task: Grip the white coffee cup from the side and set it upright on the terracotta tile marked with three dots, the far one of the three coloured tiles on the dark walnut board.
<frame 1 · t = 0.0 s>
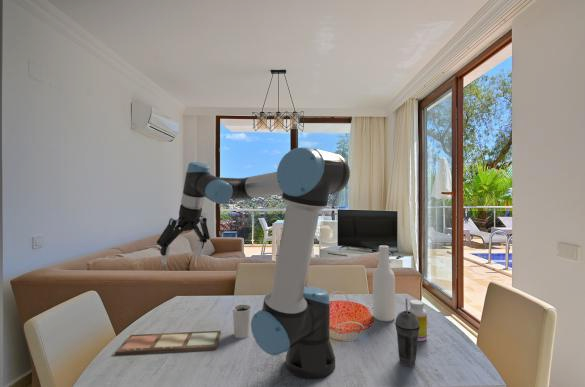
hand: (181, 259, 114), 28 cm above the table, tool tilted 20°, fingers open, 13 cm apart
beverage cup: (407, 362, 96), on the table
white bottle: (383, 318, 129), on the table
white coffee cup: (242, 335, 114), on the table
supplement bottle: (416, 338, 112), on the table
tile board: (171, 343, 108), on the table
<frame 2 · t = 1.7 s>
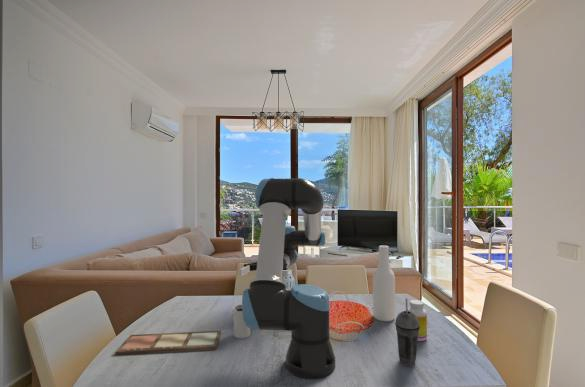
hand: (254, 274, 123), 20 cm above the table, tool horizontal, fingers open, 13 cm apart
nothing on the table moved.
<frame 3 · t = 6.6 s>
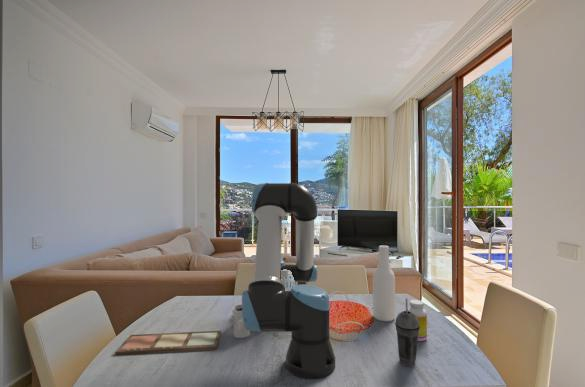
hand: (233, 324, 109), 6 cm above the table, tool horizontal, fingers closed on white coffee cup, 3 cm apart
white coffee cup: (242, 335, 114), on the table, touching gripper
everything else where it was.
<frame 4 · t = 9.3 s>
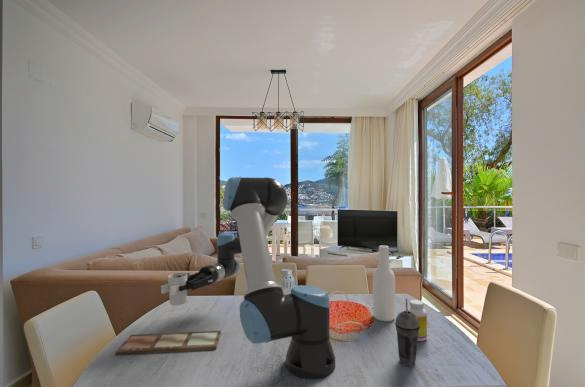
hand: (166, 290, 108), 18 cm above the table, tool horizontal, fingers closed on white coffee cup, 3 cm apart
white coffee cup: (178, 302, 113), point 12 cm above the table, touching gripper
everything else where it was.
when the fingers open (9 cm above the table, at t = 12.1 s): white coffee cup drops 1 cm, resting on tile board.
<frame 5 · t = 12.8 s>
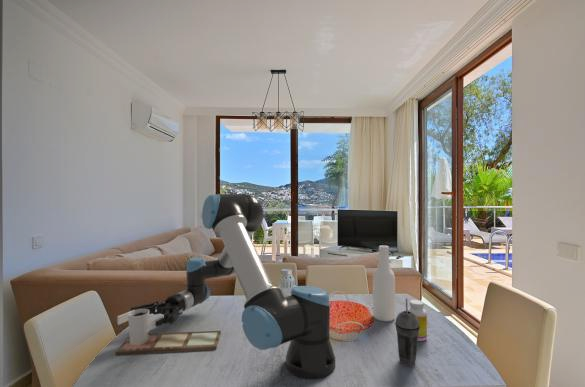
hand: (131, 324, 104), 9 cm above the table, tool horizontal, fingers open, 13 cm apart
white coffee cup: (139, 341, 107), point 1 cm above the table, touching tile board
everything else where it was.
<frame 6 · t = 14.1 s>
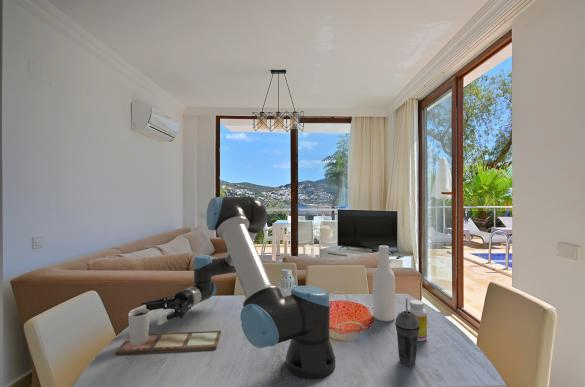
hand: (143, 317, 108), 9 cm above the table, tool horizontal, fingers open, 13 cm apart
nothing on the table moved.
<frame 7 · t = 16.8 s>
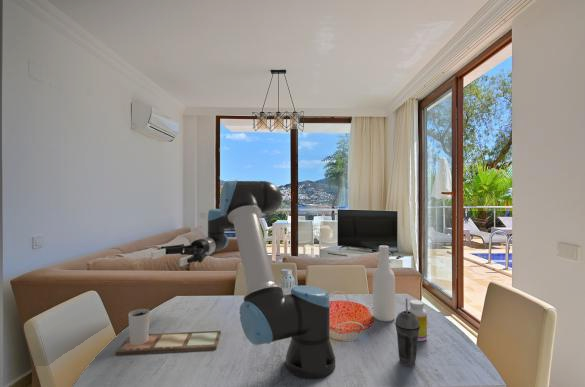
hand: (165, 259, 115), 28 cm above the table, tool horizontal, fingers open, 13 cm apart
nothing on the table moved.
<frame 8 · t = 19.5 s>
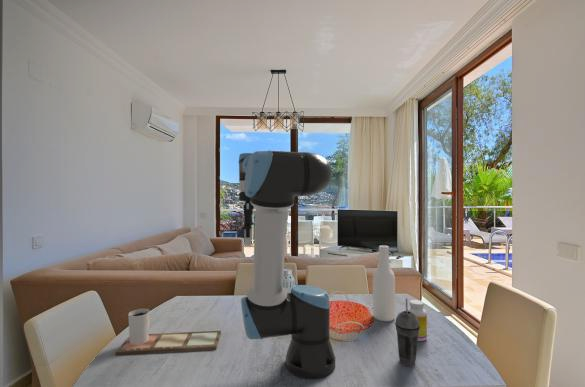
hand: (248, 243, 127), 32 cm above the table, tool pointing down, fingers open, 13 cm apart
nothing on the table moved.
at the end: white coffee cup inside the target area on the tile board (0.8 cm from its centre), point 0.9 cm above the tile board's base; white coffee cup tilted 0°; the gripper is holding nothing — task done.
